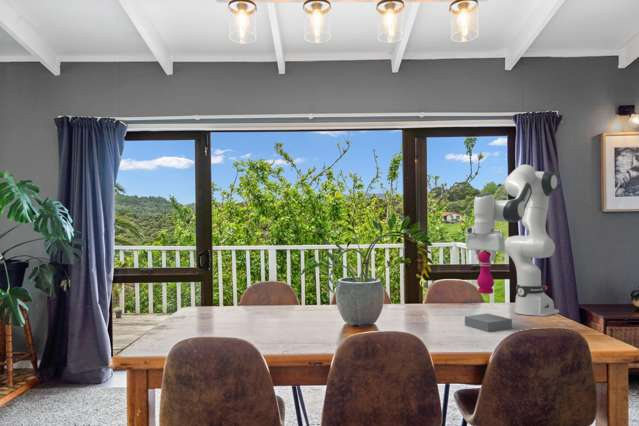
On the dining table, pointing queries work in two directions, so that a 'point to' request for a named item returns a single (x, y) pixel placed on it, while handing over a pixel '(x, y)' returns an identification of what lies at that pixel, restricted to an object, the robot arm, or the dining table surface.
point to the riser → (488, 322)
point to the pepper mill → (485, 274)
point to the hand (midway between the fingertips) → (485, 260)
